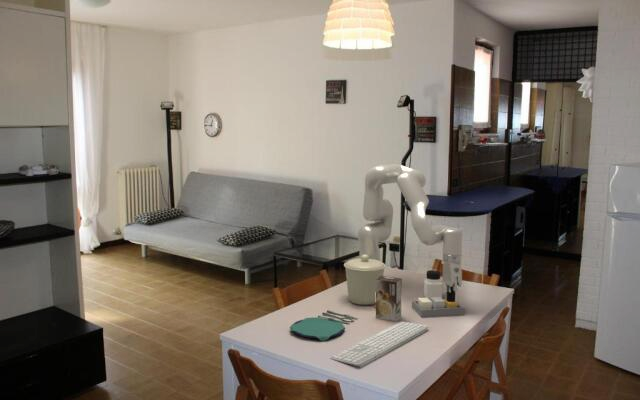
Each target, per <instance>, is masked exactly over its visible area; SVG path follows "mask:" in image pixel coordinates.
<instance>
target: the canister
mask: <svg viewBox="0 0 640 400" xmlns="http://www.w3.org/2000/svg"><path fill="white" fill-rule="evenodd" d="M343 267H344V268H345V278H346V286H347V294H348V298H349V300H350V302H351V303H353V304H355V305H359V306H369V305H374V304H375V305H376V303H375V292H376V279H378V278H379V277H380V276H384V272H385V268H386V267H387V265H386V264H385V263H384V262H382V261H381V260H380V261H379V260H376V259H369V256H368V255H366V254H363V255H362V256H361V258H360V257H358V258H352V259H350V260H348V261H347V262H345V263H344V264H343Z"/></svg>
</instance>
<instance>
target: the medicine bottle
mask: <svg viewBox="0 0 640 400" xmlns="http://www.w3.org/2000/svg"><path fill="white" fill-rule="evenodd" d="M443 286H444V285H443V283H442V281H441V272H440V271H439V270H437V269H429V270H427V271H426V279H423V295H424V298H428V299H429V300H431V297H440V298H442V299H443V290H444V289H443Z"/></svg>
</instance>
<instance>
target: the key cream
mask: <svg viewBox="0 0 640 400" xmlns="http://www.w3.org/2000/svg"><path fill="white" fill-rule="evenodd" d="M430 300H431V299H428V298H426V297H417V301H418V305H419V306H420V307H421V308H422V309H432V301H430Z"/></svg>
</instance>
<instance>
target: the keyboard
mask: <svg viewBox="0 0 640 400" xmlns="http://www.w3.org/2000/svg"><path fill="white" fill-rule="evenodd" d="M428 328H429V325H426V324H418V323H413V322H407V321H400V322H398V323H394V325H391V326H389V327H386V328H385V329H383V330H381V331H379V332H376V333H375V334H373V335H371V336H369V337H367V338H365V339H363V340H360V341H359V342H356V343H355V344H353V345H351V346H350V347H347V348H345V349H343V350H341V351H339V352H338V353H336V354H333V355H331V356H330V360H334V361H337V362H340V363H344V364H347V365H351V366H356V367H358V368H363V366H366V365H367V364H370V363H371V362H373V361H375V360H377V359H378V358H380V357H382V356H384V355H386V354H388V353H389V352H392V351H394V350H395V349H397V348H399V347H400V346H402V345H404V344H406V343H407V342H409V341H411V340H413V339H414V338H417V337H418V336H420V335H422V334H425V332H428Z"/></svg>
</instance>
